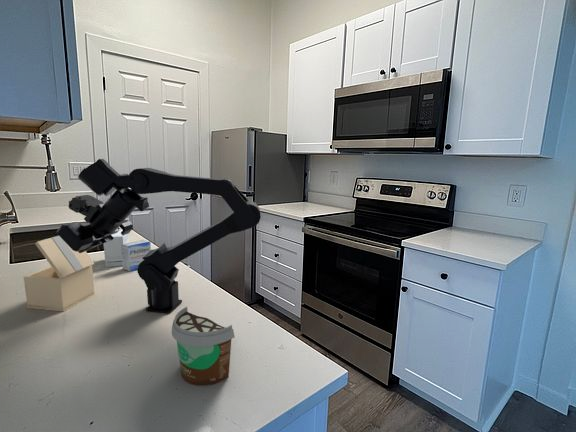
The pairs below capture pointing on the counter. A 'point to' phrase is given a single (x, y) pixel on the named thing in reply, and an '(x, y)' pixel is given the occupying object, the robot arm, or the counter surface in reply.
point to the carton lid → (63, 256)
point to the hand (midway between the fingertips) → (79, 251)
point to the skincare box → (115, 249)
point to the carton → (58, 289)
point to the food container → (202, 348)
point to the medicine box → (134, 254)
